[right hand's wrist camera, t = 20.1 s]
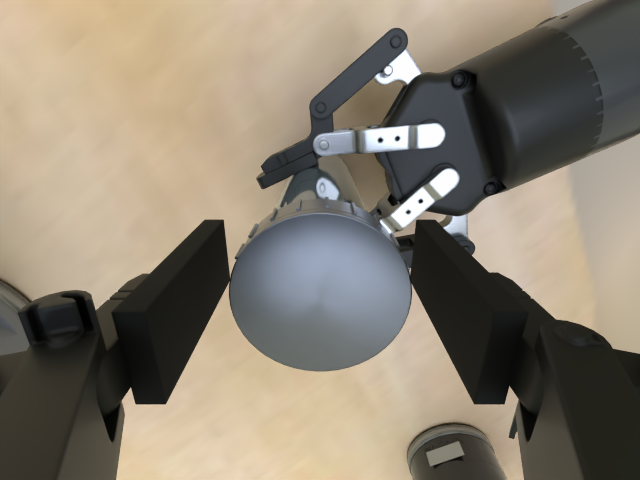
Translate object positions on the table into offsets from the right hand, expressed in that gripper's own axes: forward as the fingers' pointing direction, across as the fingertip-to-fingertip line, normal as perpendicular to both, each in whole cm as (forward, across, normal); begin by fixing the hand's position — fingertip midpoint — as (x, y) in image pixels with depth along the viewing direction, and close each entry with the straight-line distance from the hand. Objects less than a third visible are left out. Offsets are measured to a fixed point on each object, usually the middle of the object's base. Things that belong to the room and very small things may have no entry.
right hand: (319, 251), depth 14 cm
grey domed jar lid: (-4, 0, 0) cm, 4 cm away
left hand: (+7, -2, -1) cm, 8 cm away
